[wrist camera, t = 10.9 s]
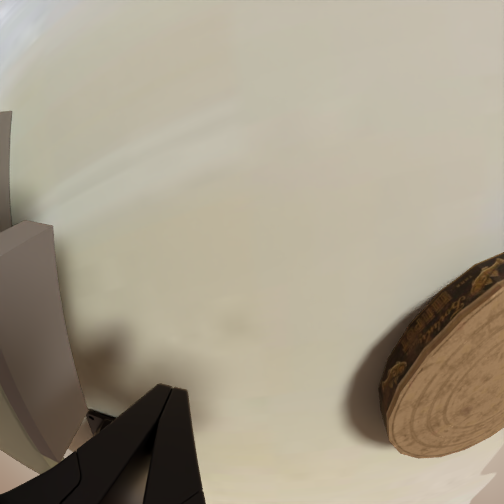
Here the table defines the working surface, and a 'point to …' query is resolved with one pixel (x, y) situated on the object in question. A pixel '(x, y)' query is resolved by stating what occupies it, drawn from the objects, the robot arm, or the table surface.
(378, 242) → the table surface
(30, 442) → the lid
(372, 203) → the table surface
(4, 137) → the housing
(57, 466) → the robot arm
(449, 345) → the wood slice coaster
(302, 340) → the table surface
